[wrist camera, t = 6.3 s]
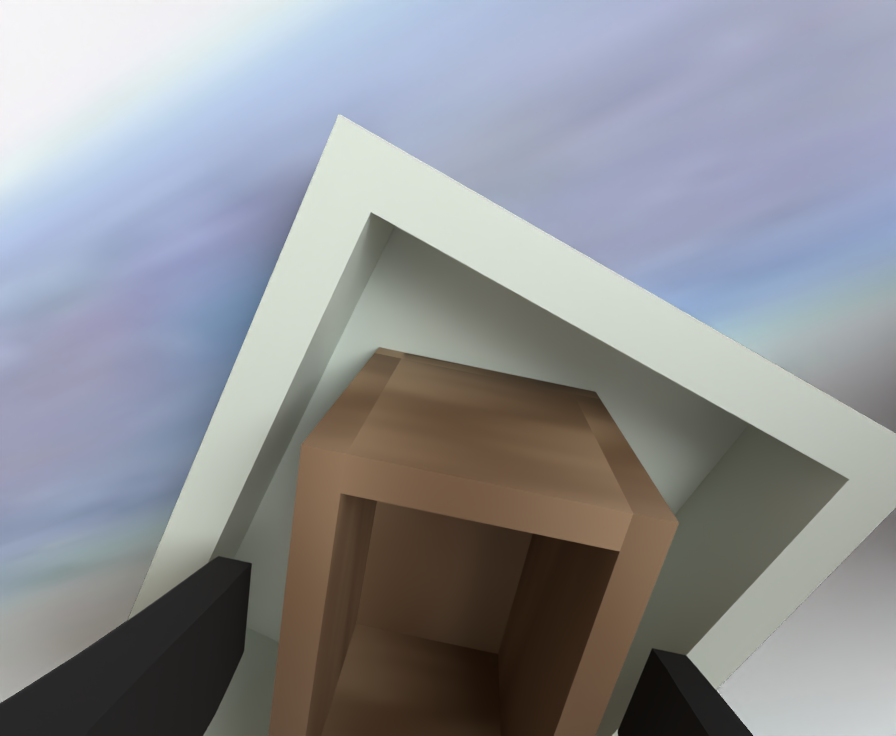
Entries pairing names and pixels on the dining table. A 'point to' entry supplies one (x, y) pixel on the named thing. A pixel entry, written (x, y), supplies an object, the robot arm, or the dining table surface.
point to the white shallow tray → (533, 356)
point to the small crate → (463, 558)
